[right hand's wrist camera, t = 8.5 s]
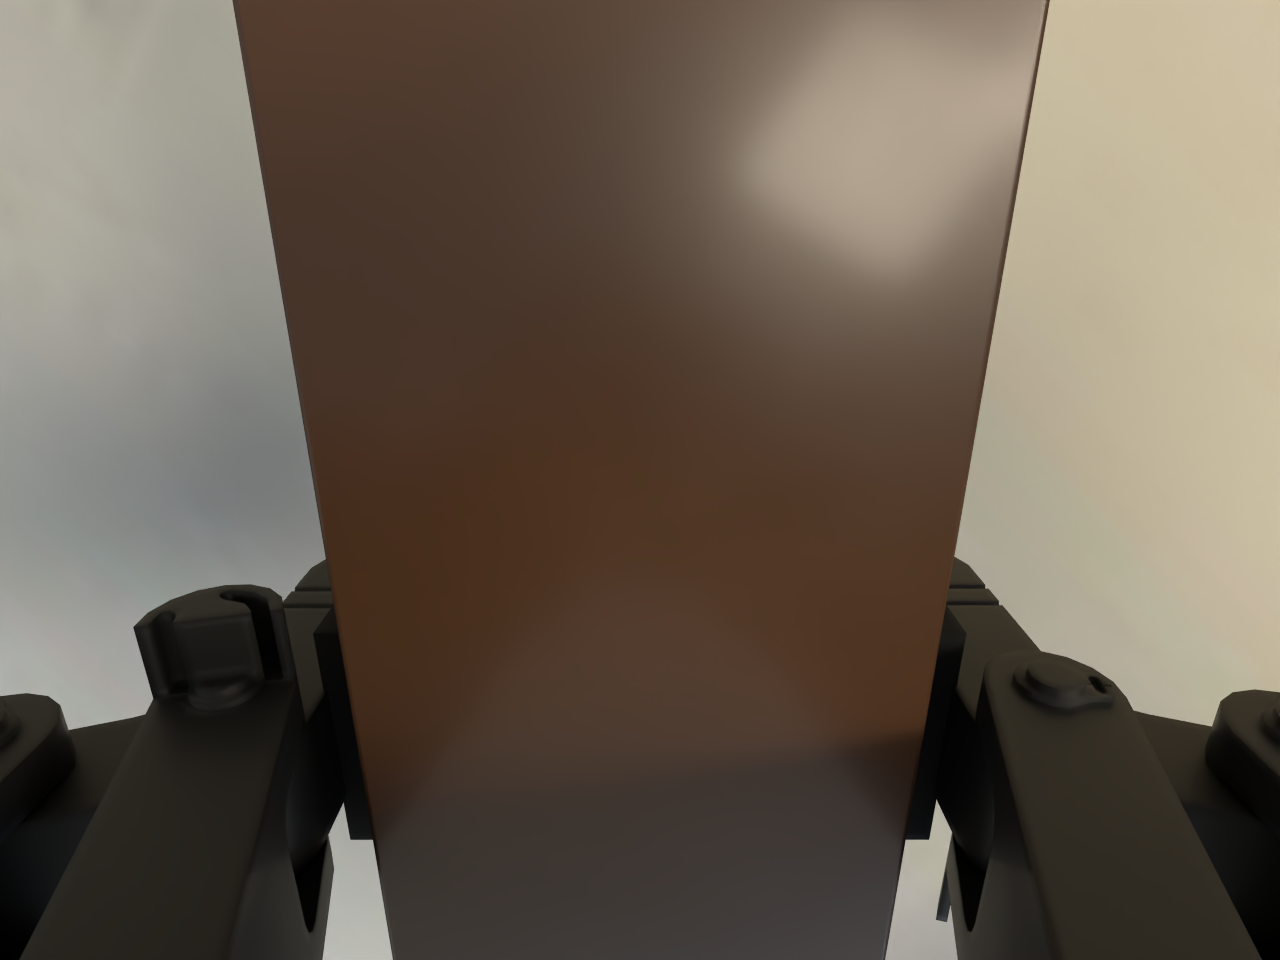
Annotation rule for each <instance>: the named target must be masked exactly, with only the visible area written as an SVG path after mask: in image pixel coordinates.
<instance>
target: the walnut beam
mask: <svg viewBox="0 0 1280 960" xmlns="http://www.w3.org/2000/svg"><path fill="white" fill-rule="evenodd" d="M1049 2H1050V0H233V5H234V11H235V17H236V23H237V29H238V35H239V41H240V47H241V53H242V59H243V65H244V71H245V77H246V83H247V89H248V95H249V101H250V107H251V113H252V119H253V125H254V131H255V137H256V143H257V149H258V155H259V161H260V167H261V173H262V179H263V185H264V191H265V197H266V203H267V209H268V215H269V221H270V227H271V233H272V239H273V245H274V251H275V257H276V263H277V269H278V275H279V280H280V286H281V292H282V298H283V304H284V310H285V316H286V322H287V328H288V334H289V340H290V346H291V352H292V358H293V364H294V370H295V376H296V382H297V388H298V394H299V400H300V406H301V412H302V418H303V424H304V430H305V436H306V442H307V448H308V454H309V460H310V466H311V472H312V478H313V484H314V490H315V496H316V502H317V508H318V514H319V520H320V526H321V532H322V538H323V544H324V549H325V555H326V561H327V567H328V573H329V579H330V585H331V591H332V597H333V603H334V609H335V615H336V621H337V627H338V633H339V639H340V645H341V651H342V657H343V663H344V669H345V675H346V681H347V687H348V693H349V699H350V705H351V711H352V717H353V723H354V729H355V735H356V741H357V747H358V753H359V759H360V765H361V771H362V777H363V783H364V789H365V795H366V801H367V807H368V813H369V819H370V824H371V830H372V836H373V842H374V848H375V854H376V860H377V866H378V872H379V878H380V884H381V890H382V896H383V902H384V908H385V914H386V920H387V926H388V932H389V938H390V944H391V950H392V956H393V960H885V956H886V951H887V945H888V939H889V933H890V927H891V921H892V916H893V910H894V904H895V898H896V892H897V886H898V881H899V875H900V869H901V863H902V857H903V852H904V846H905V840H906V834H907V828H908V822H909V817H910V811H911V805H912V799H913V793H914V788H915V782H916V776H917V770H918V764H919V758H920V753H921V747H922V741H923V735H924V729H925V724H926V718H927V712H928V706H929V700H930V694H931V689H932V683H933V677H934V671H935V665H936V659H937V654H938V648H939V642H940V636H941V630H942V625H943V619H944V613H945V607H946V601H947V595H948V590H949V584H950V578H951V572H952V566H953V561H954V555H955V549H956V543H957V537H958V531H959V526H960V520H961V514H962V508H963V502H964V496H965V491H966V485H967V479H968V473H969V467H970V462H971V456H972V450H973V444H974V438H975V432H976V427H977V421H978V415H979V409H980V403H981V398H982V392H983V386H984V380H985V374H986V368H987V363H988V357H989V351H990V345H991V339H992V333H993V328H994V322H995V316H996V310H997V304H998V299H999V293H1000V287H1001V281H1002V275H1003V269H1004V264H1005V258H1006V252H1007V246H1008V240H1009V235H1010V229H1011V223H1012V217H1013V211H1014V205H1015V200H1016V194H1017V188H1018V182H1019V176H1020V170H1021V165H1022V159H1023V153H1024V147H1025V141H1026V136H1027V130H1028V124H1029V118H1030V112H1031V106H1032V101H1033V95H1034V89H1035V83H1036V77H1037V72H1038V66H1039V60H1040V54H1041V48H1042V42H1043V37H1044V31H1045V25H1046V19H1047V13H1048V7H1049Z"/></svg>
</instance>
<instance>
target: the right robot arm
mask: <svg viewBox="0 0 1280 960" xmlns="http://www.w3.org/2000/svg"><path fill="white" fill-rule="evenodd" d="M133 628H134V631H135V635H136V638H137V642H138V645H139V649H140V652H141V656H142V660H143V663H144V667H145V670H146V674H147V677H148V681H149V684H150V688H151V692H152V695H153V701H152V703H151V705H150V707H149V709H148V711H147V712H146V714H145V715H141V716H138V717H134V718H129V719H124V720H119V721H114V722H108V723H103V724H98V725H93V726H88V727H83V728H78V729H73V730H68V727H67V724H66V721H65V718H64V715H63V712H62V709H61V707H60V705H59V704H58V703H57V702H55V701H54V700H53V699H51V698H50V697H49V696H43V695H35V694H28V693H25V694H16V695H7V696H0V960H322V958H323V950H324V943H325V935H326V927H327V919H328V912H329V904H330V896H331V888H332V881H333V873H334V866H333V858H332V852H331V846H330V841H329V836H328V834H329V832H330V830H331V828H332V826H333V823H334V821H335V819H336V817H337V815H338V813H339V811H340V809H341V806H342V804H343V802H344V807H345V812H346V818H347V823H348V828H349V834H350V839H351V840H373V836H372V830H371V824H370V819H369V813H368V807H367V801H366V795H365V789H364V783H363V777H362V771H361V765H360V759H359V753H358V747H357V741H356V735H355V729H354V723H353V717H352V711H351V705H350V699H349V693H348V687H347V681H346V675H345V669H344V663H343V657H342V651H341V645H340V639H339V633H338V627H337V621H336V615H335V609H334V603H333V597H332V591H331V585H330V579H329V573H328V567H327V561H326V560H324V561H322V562H320V563H319V564H317V565H315V566H314V567H312V568H311V569H310V570H309V571H308V573H307V574H306V575H305V576H304V577H303V579H302V580H301V581H300V582H299V583H298V585H297V586H296V587H295V592H291V593H290V594H289V595H288V597H287V598H286V599H285V600H284V601H282V597H281V596H280V595H278V594H277V593H276V592H274V591H273V590H272V589H270V588H265V587H260V586H256V585H251V584H250V585H224V586H219V587H213V588H208V589H203V590H198V591H195V592H192V593H189V594H186V595H184V596H181V597H178V598H175V599H172V600H170V601H168V602H166V603H164V604H163V605H161V606H159V607H157V608H156V609H154V610H152V611H150V612H148V613H147V614H146V615H145V616H144V617H143V618H142V619H141V620H140V621H139V622H138V623H137V624H136V625H135V626H134V627H133ZM936 799H937V801H938V803H939V805H940V808H941V810H942V812H943V814H944V816H945V818H946V820H947V822H948V824H949V827H950V829H951V831H952V836H951V841H950V846H949V852H948V857H947V862H946V867H945V872H944V877H943V882H942V887H941V892H940V898H939V903H938V910H937V917H936V920H940V921H944V922H947V919H948V914H949V909H950V905H951V910H952V918H953V925H954V933H955V941H956V948H957V956H958V960H1280V692H1271V691H1262V690H1248V691H1240V692H1232V693H1231V694H1230V695H1228V696H1227V697H1226V698H1224V699H1223V700H1222V701H1221V702H1220V705H1219V708H1218V711H1217V714H1216V717H1215V720H1214V723H1213V726H1212V727H1211V726H1205V725H1200V724H1195V723H1190V722H1185V721H1180V720H1174V719H1169V718H1164V717H1159V716H1154V715H1149V714H1145V713H1141V712H1137V711H1133V709H1132V707H1131V705H1130V703H1129V701H1128V699H1127V698H1126V696H1125V695H1124V694H1123V693H1122V692H1121V690H1120V689H1119V688H1118V687H1117V686H1116V684H1115V683H1114V682H1113V681H1111V680H1110V679H1108V678H1107V677H1105V676H1104V675H1102V674H1101V673H1099V672H1098V671H1096V670H1095V669H1093V668H1091V667H1089V666H1087V665H1084V664H1082V663H1079V662H1077V661H1075V660H1072V659H1070V658H1067V657H1064V656H1059V655H1055V654H1050V653H1046V652H1042V651H1040V650H1039V648H1038V647H1037V646H1036V645H1035V644H1034V642H1033V641H1032V640H1031V639H1030V638H1029V636H1028V635H1027V634H1026V633H1025V632H1024V630H1023V629H1022V628H1021V627H1020V626H1019V625H1018V623H1017V622H1016V621H1015V620H1014V619H1013V617H1012V616H1011V615H1010V614H1009V613H1008V611H1007V610H1006V609H1005V608H1004V607H1003V606H1002V605H999V601H998V600H997V598H996V597H995V596H994V595H993V594H992V592H991V591H990V590H989V589H985V584H984V583H983V582H982V581H981V579H980V578H979V577H978V576H977V575H976V573H975V572H974V571H973V570H972V569H971V567H970V566H969V565H968V564H966V563H964V562H962V561H961V560H959V559H957V558H956V557H954V561H953V566H952V572H951V578H950V584H949V590H948V595H947V601H946V607H945V613H944V619H943V625H942V630H941V636H940V642H939V648H938V654H937V659H936V665H935V671H934V677H933V683H932V689H931V694H930V700H929V706H928V712H927V718H926V724H925V729H924V735H923V741H922V747H921V753H920V758H919V764H918V770H917V776H916V782H915V788H914V793H913V799H912V805H911V811H910V817H909V822H908V828H907V834H906V840H929V837H930V832H931V826H932V821H933V815H934V810H935V804H936Z"/></svg>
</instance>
